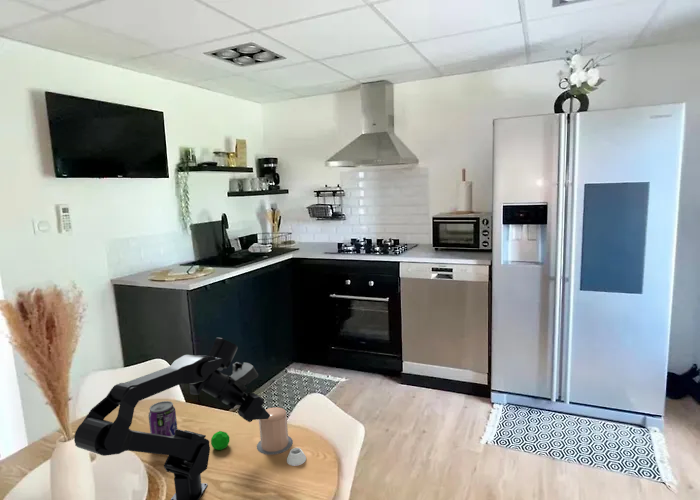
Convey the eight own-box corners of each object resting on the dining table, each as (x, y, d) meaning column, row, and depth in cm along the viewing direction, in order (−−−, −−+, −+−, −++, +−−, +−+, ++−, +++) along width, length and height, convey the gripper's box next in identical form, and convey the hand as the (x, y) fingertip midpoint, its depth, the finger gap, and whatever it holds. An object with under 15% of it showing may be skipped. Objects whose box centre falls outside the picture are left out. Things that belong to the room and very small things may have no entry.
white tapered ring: (285, 458, 117) (289, 469, 113) (284, 448, 117) (288, 458, 112) (303, 453, 119) (308, 464, 114) (302, 443, 119) (307, 453, 114)
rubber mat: (287, 455, 118) (287, 454, 118) (252, 455, 119) (251, 454, 119) (296, 435, 128) (296, 434, 128) (263, 435, 129) (262, 434, 129)
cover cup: (284, 451, 119) (282, 420, 118) (258, 451, 120) (255, 420, 119) (290, 436, 127) (288, 407, 126) (265, 436, 128) (263, 407, 126)
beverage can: (169, 453, 122) (164, 412, 120) (146, 451, 123) (142, 411, 122) (183, 439, 129) (179, 400, 127) (162, 437, 130) (158, 399, 129)
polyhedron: (207, 451, 122) (206, 435, 122) (220, 442, 127) (218, 426, 126) (221, 455, 120) (220, 438, 119) (233, 445, 124) (232, 429, 124)
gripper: (253, 367, 107) (295, 395, 116) (222, 349, 122) (261, 375, 130) (226, 409, 104) (270, 434, 112) (197, 384, 118) (239, 409, 126)
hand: (260, 410), depth 120 cm, fingers open, 9 cm apart
